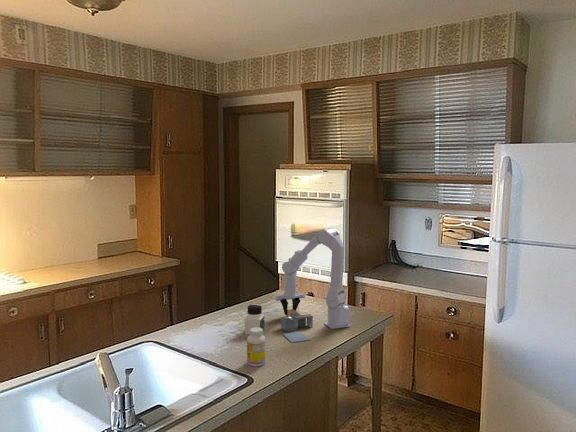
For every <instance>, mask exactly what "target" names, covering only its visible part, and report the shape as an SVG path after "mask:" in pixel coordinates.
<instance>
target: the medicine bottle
mask: <svg viewBox="0 0 576 432" xmlns="http://www.w3.org/2000/svg"><path fill="white" fill-rule="evenodd" d="M262 309H263V307H262V305H260V304H257V303H253V304H249V305H248V306H247V315H246V316H245V317H244V320H243V321H244V335H248V336H249V335H250V329H251V328H255V327H258V328H262V329H263V332H264V331H265V314H262Z"/></svg>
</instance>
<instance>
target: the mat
mask: <svg viewBox="0 0 576 432" xmlns="http://www.w3.org/2000/svg"><path fill="white" fill-rule="evenodd" d="M282 336H284V337H285V338H286V339H287V340H288V341H289V342H290V343H291V344H294V343H300V342H301V343H302V342H308V341H310V338H308V336H306V335H305V334H304V333H303V332H301V331H293V332H289V333H286V332H285V333H282Z"/></svg>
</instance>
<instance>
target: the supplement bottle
mask: <svg viewBox="0 0 576 432" xmlns="http://www.w3.org/2000/svg"><path fill="white" fill-rule="evenodd" d="M263 333H264V331H263V329H262V328H258V327H255V328H251V329H250V335H248V336H247V338H246V339H247V340H246V343H247V344H246V345H247V346H246V359H247V360H246V363H247V364H248V365H249V366H251V367H262V366H264V364H265V363H266V337H265V335H264V334H263Z"/></svg>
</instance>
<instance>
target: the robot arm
mask: <svg viewBox="0 0 576 432" xmlns="http://www.w3.org/2000/svg"><path fill="white" fill-rule="evenodd" d="M318 245H323V246H326V248H328V249H329V250H330V251H331V261H330V262H331V265H330V268H331V269H330V285H329V288H328V291H327V295H326V297H325V304H326V305H327V321H325V322H323V324H325V326H327V327H328V328H329V329H331V330H333V329H341V328H348V327H351V325H350V315H351V314H350V308H349V305H345V304H344V302H346V300H347V294H346V291H345V290H346V289H345V287H344V286H343V282H344V281H343V278H344V259H345V258H344V257H345V246H344V243H343V240H342V239H341V233H340V232H339V231H338V230H337V229H336V228H335V227H328V228H325V229H321V230H320V231H318V233H316V234H315V235H314V236H313V237H312V238H311V239H310V241H309V242H308V243H307V244H306V245H305V246H304V248H303V249H298V250H295V251H294V254H293V255H292V256H291V257H289V258H288V261H285V262H283V264H282V266H281V269H282V272H283V273H284V274H283V275H284V276H283V277H284V278H283V280H284V281H283V284H284V285H283V286H284V287H283V291H284V292H283V294H279V295H274V301H276V302H280V303H281V306H282V309H283V313H284V315H285V316H286V315H287V310H288V306H289V301H288V300H291V302H292V303H291V304H292V308H291V309H294V310H295V311H297V309H298V307H299V305H300V303H301V299H306V294H305V293H301V292H300V293H297V272H298V270H299V269H300V267H301V266H302V265H303V264H304V263H305V262H306V261H307V259H308V255H309V254H310V253H311V252H313V251H314V249H315V248H316V247H318Z"/></svg>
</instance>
